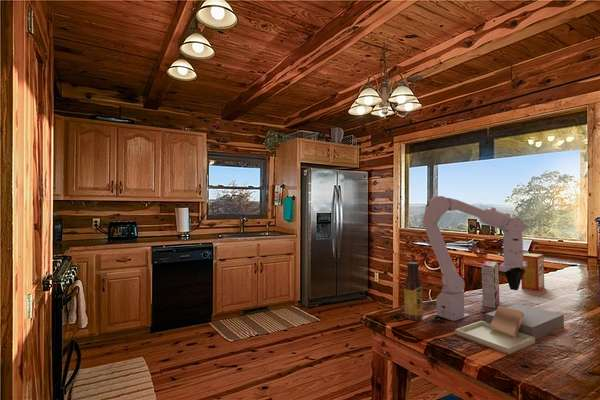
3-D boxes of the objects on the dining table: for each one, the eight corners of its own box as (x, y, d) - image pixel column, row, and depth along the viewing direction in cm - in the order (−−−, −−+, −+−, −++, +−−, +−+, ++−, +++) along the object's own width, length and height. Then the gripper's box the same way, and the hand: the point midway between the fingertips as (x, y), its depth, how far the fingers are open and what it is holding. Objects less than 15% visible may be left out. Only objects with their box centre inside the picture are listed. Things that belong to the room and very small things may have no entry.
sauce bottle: (421, 322, 113) (419, 265, 113) (402, 319, 116) (401, 263, 116) (424, 316, 118) (423, 262, 118) (407, 313, 121) (406, 260, 122)
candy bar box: (485, 299, 137) (484, 260, 137) (499, 301, 134) (498, 261, 134) (481, 306, 128) (480, 265, 128) (496, 309, 125) (495, 266, 125)
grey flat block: (532, 340, 96) (532, 327, 96) (486, 325, 108) (485, 313, 108) (563, 326, 106) (563, 314, 106) (517, 314, 118) (517, 303, 118)
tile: (515, 338, 97) (512, 334, 97) (492, 330, 103) (489, 327, 103) (524, 315, 100) (521, 311, 99) (501, 308, 106) (498, 305, 105)
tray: (509, 354, 88) (508, 348, 88) (455, 334, 102) (455, 329, 102) (535, 342, 95) (534, 337, 95) (481, 325, 109) (481, 320, 109)
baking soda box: (528, 284, 159) (527, 252, 159) (544, 287, 154) (543, 253, 154) (521, 288, 153) (520, 254, 153) (538, 291, 148) (537, 256, 148)
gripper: (514, 254, 107) (515, 295, 107) (536, 250, 114) (537, 289, 114) (492, 251, 113) (493, 290, 113) (514, 248, 120) (515, 284, 120)
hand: (514, 289), depth 114 cm, fingers closed
